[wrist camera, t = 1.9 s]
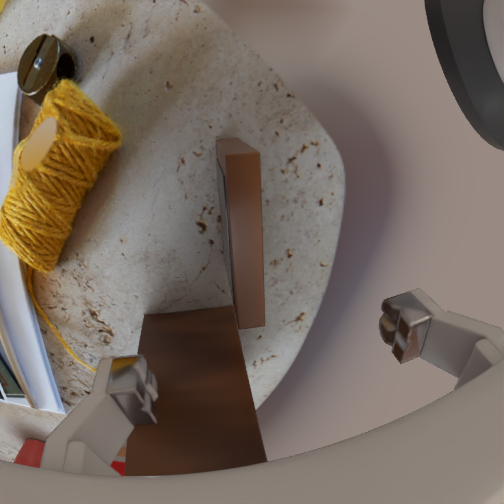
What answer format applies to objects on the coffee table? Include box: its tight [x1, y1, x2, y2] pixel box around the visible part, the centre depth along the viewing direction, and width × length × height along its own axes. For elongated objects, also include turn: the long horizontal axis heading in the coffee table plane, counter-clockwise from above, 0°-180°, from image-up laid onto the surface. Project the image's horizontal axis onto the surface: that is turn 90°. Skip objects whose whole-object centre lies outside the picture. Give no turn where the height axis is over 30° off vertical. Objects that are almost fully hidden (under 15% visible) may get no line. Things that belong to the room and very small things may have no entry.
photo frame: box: [216, 138, 265, 329], centre depth 19 cm, size 2×10×8 cm, turn 3°
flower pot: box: [14, 439, 45, 468], centre depth 30 cm, size 11×11×10 cm
